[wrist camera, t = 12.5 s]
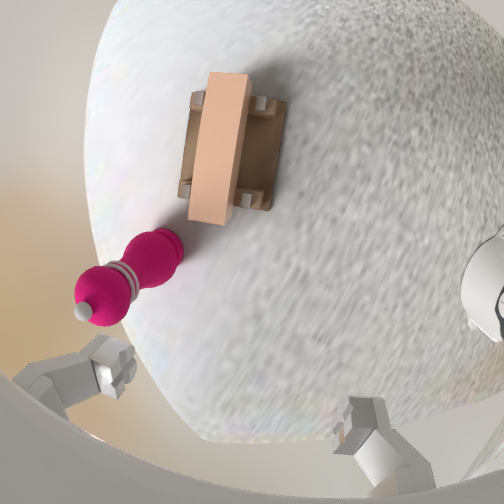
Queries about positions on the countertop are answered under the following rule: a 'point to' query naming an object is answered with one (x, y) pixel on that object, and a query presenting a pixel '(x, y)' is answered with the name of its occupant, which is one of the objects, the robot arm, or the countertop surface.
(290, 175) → the countertop surface
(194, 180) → the peach rectangular block
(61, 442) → the robot arm
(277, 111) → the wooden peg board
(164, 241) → the pepper mill
